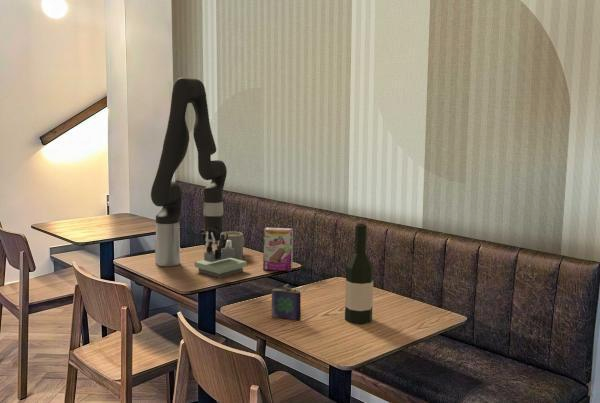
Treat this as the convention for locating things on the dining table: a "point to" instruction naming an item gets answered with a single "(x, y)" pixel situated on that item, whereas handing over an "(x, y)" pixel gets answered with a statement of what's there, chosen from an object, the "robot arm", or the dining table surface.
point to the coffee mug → (236, 243)
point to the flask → (286, 304)
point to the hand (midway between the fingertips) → (213, 257)
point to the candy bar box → (278, 249)
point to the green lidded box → (221, 267)
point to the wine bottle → (359, 281)
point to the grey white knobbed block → (225, 253)
